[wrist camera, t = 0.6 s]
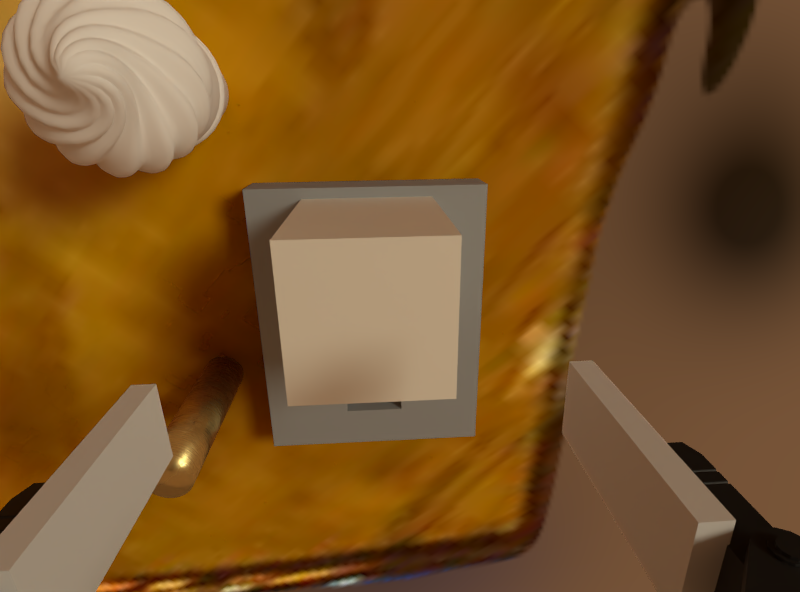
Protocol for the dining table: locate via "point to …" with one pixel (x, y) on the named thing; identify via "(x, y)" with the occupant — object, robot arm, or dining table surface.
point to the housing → (368, 300)
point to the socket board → (377, 419)
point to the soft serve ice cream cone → (112, 81)
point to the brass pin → (198, 425)
